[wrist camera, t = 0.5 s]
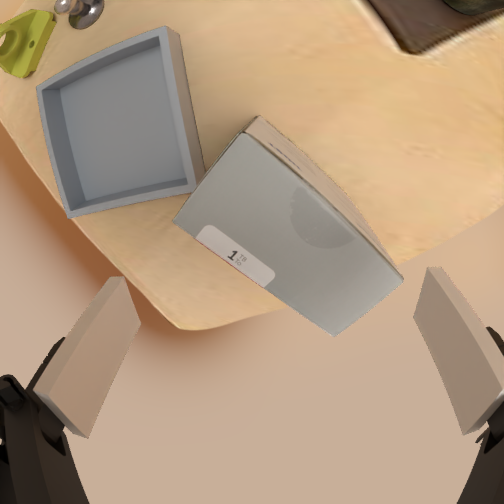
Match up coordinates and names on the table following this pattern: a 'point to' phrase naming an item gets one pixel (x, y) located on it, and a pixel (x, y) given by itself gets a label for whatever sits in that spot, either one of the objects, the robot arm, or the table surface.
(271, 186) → the hard drive box
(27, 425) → the robot arm
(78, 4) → the ball stud
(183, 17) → the table surface
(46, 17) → the bracket
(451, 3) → the mug
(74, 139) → the bin
